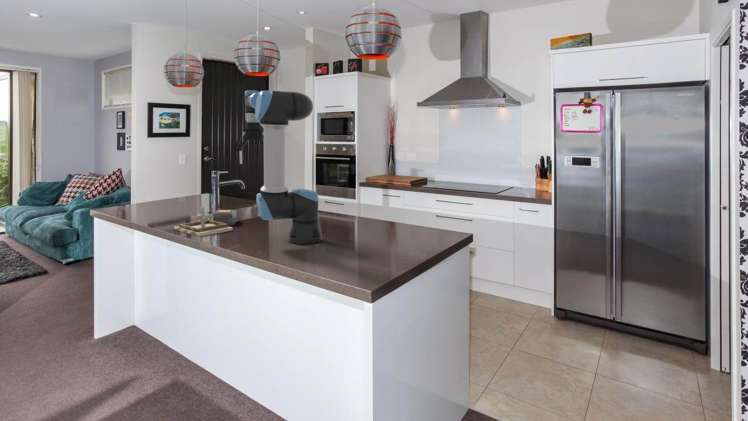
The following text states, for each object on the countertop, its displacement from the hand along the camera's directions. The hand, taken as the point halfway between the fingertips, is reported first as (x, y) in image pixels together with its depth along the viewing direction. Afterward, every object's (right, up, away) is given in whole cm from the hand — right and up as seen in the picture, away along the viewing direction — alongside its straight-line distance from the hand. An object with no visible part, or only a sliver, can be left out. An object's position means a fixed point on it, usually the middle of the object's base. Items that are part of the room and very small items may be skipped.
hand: (254, 163), depth 230 cm
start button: (-17, -27, +6) cm, 33 cm away
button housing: (-17, -31, +6) cm, 36 cm away
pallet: (-22, -34, -12) cm, 42 cm away
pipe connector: (-22, -33, -12) cm, 41 cm away
